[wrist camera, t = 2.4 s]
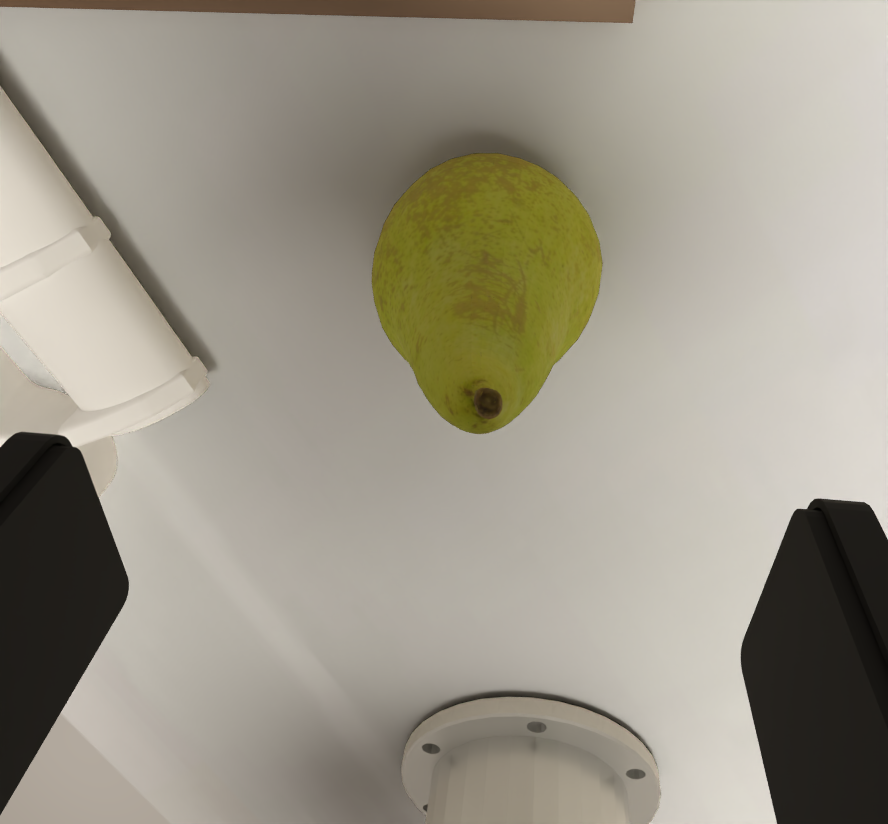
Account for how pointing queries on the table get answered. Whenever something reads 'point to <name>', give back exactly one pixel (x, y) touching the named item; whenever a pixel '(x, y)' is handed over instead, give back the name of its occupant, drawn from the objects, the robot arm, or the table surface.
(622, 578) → the table surface
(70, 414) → the knuckle duster
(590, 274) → the fruit
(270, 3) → the socket board
